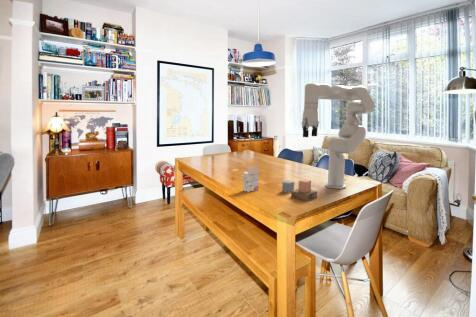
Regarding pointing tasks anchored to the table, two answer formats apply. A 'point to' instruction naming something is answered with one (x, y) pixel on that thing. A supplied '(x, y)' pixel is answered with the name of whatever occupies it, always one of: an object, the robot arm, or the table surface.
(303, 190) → the terracotta block
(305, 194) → the walnut block
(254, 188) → the ink cartridge box
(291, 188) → the slate grey block
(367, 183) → the table surface
